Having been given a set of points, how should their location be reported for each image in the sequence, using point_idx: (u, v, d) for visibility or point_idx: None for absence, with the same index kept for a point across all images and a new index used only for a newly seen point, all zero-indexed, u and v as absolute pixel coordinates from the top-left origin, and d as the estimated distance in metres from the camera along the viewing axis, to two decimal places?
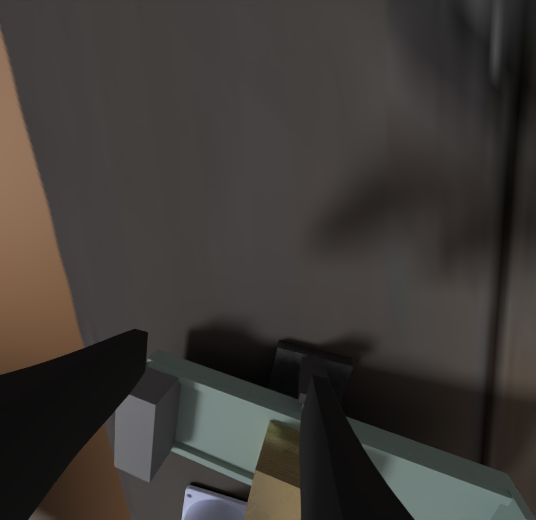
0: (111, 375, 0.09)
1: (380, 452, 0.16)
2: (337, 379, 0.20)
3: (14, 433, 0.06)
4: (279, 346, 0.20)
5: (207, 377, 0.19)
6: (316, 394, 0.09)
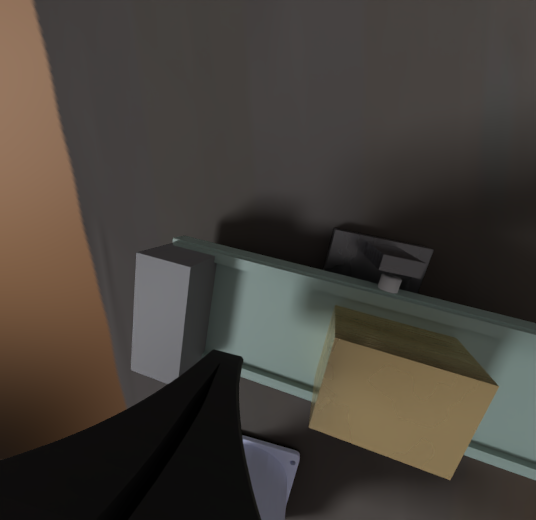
0: None
1: (496, 328, 0.12)
2: None
3: (153, 477, 0.06)
4: (337, 229, 0.16)
5: (251, 256, 0.15)
6: (218, 368, 0.09)
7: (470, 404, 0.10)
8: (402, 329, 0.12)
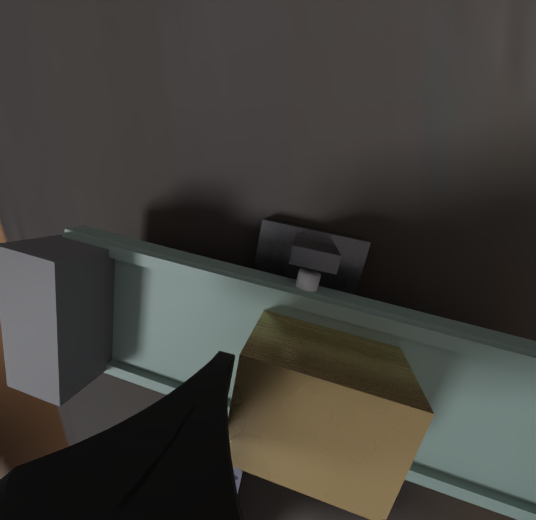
0: None
1: (420, 332, 0.10)
2: (347, 264, 0.14)
3: None
4: (265, 219, 0.14)
5: (153, 250, 0.13)
6: (209, 366, 0.09)
7: (402, 435, 0.08)
8: (336, 339, 0.10)
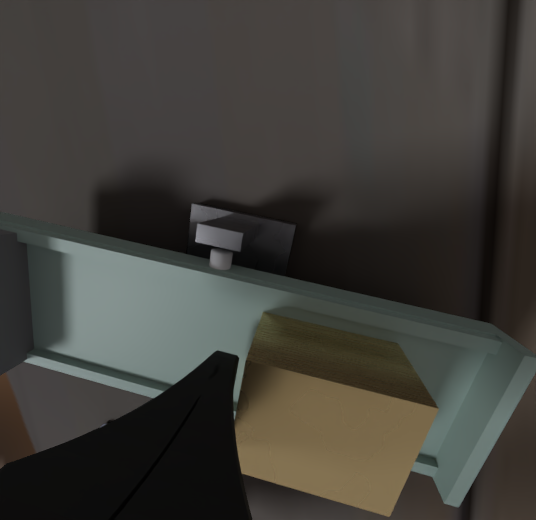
0: None
1: (319, 303, 0.11)
2: (275, 247, 0.14)
3: None
4: (196, 204, 0.15)
5: (66, 233, 0.12)
6: (213, 367, 0.09)
7: (408, 431, 0.08)
8: (337, 339, 0.10)
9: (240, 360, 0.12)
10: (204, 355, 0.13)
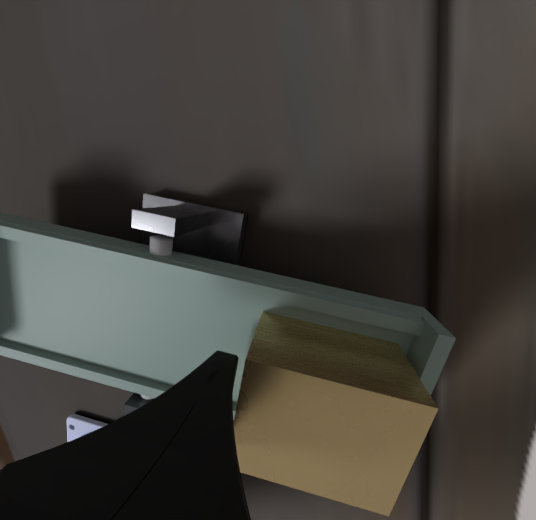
0: None
1: (251, 287, 0.11)
2: (225, 236, 0.15)
3: None
4: (147, 194, 0.15)
5: (12, 221, 0.13)
6: (213, 367, 0.09)
7: (407, 431, 0.08)
8: (336, 338, 0.10)
9: (183, 345, 0.13)
10: (149, 340, 0.13)
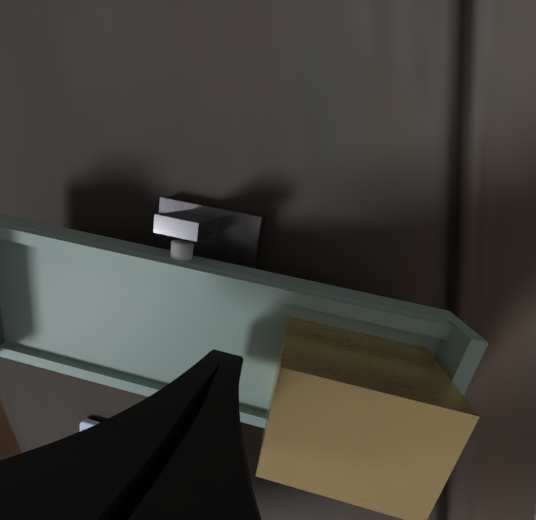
0: None
1: (275, 291, 0.11)
2: (242, 239, 0.15)
3: (153, 477, 0.06)
4: (164, 197, 0.15)
5: (31, 226, 0.12)
6: (218, 368, 0.09)
7: (446, 439, 0.08)
8: (365, 344, 0.10)
9: (204, 350, 0.13)
10: (169, 345, 0.13)
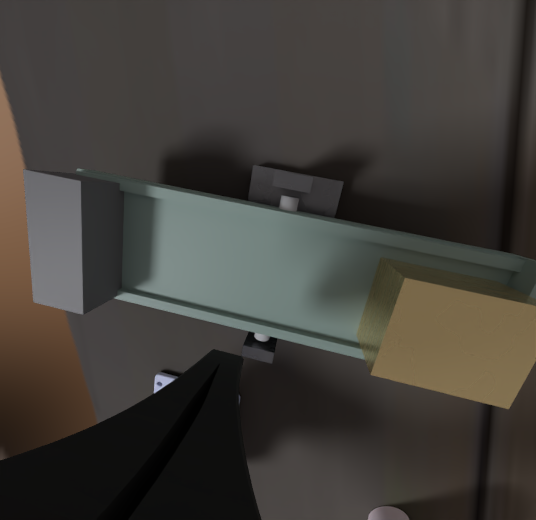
0: None
1: (375, 234, 0.13)
2: (325, 202, 0.17)
3: (153, 477, 0.06)
4: None
5: (158, 184, 0.15)
6: (218, 368, 0.09)
7: (534, 332, 0.10)
8: (452, 275, 0.13)
9: (303, 290, 0.15)
10: (272, 287, 0.15)
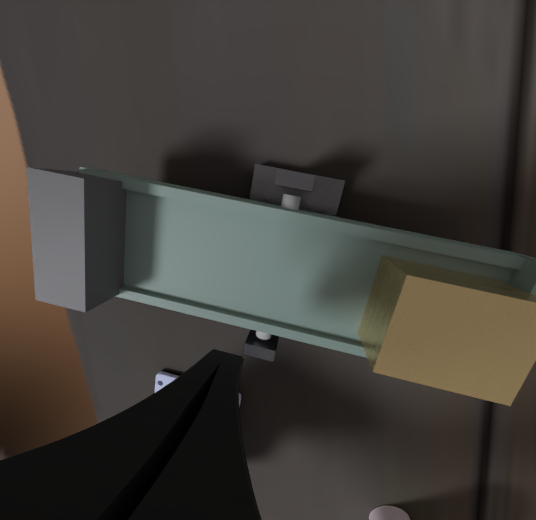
0: None
1: (377, 232, 0.13)
2: (326, 200, 0.17)
3: (153, 477, 0.06)
4: None
5: (160, 183, 0.15)
6: (218, 368, 0.09)
7: None
8: (453, 273, 0.13)
9: (304, 288, 0.15)
10: (273, 285, 0.15)
